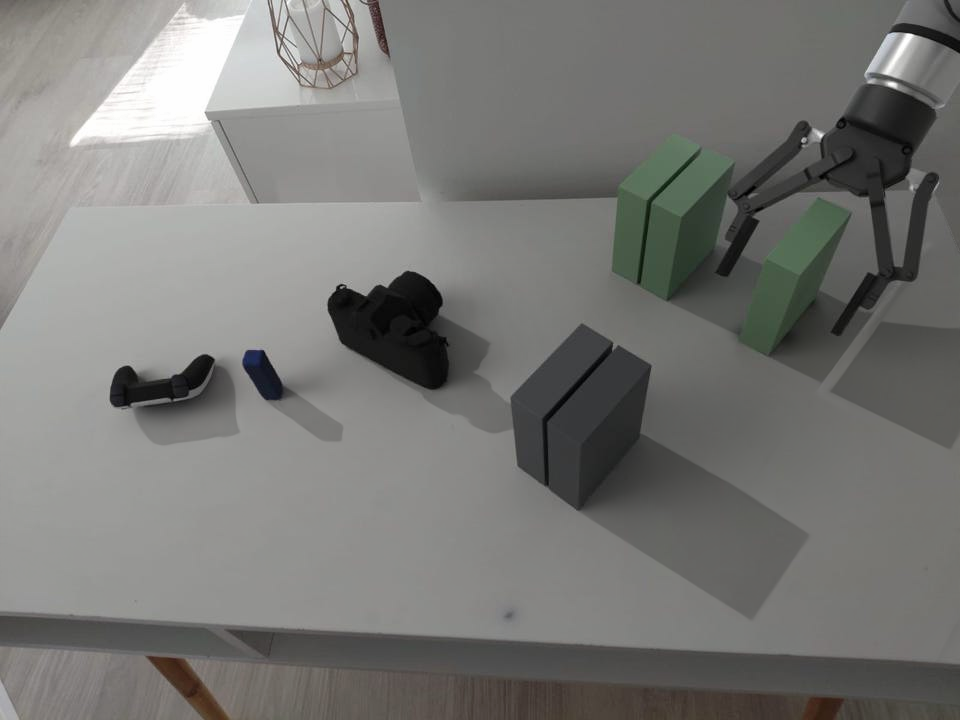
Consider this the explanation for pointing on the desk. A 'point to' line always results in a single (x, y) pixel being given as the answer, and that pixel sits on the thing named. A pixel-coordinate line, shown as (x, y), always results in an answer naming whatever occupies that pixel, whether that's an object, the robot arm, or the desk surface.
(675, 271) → the green book
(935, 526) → the desk surface
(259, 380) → the blue rectangular bar
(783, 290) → the sage book
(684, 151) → the green book
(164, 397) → the gaming controller
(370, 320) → the film camera
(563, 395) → the grey book
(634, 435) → the grey book
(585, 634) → the desk surface
